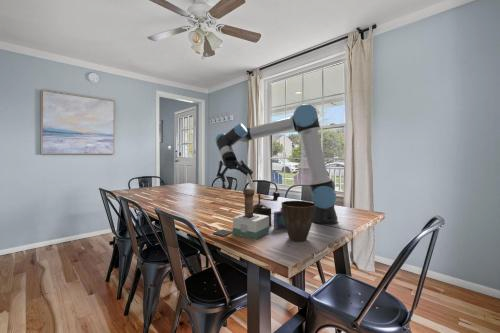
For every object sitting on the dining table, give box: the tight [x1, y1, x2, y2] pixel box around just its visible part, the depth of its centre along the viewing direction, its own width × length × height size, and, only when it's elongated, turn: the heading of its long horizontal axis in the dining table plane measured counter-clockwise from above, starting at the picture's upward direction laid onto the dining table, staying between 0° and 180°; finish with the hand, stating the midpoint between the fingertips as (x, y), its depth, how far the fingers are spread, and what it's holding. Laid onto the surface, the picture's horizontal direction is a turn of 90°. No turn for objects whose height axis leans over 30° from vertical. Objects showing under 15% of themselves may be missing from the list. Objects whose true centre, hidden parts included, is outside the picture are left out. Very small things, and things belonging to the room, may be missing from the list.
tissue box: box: [232, 213, 270, 240], centre depth 118 cm, size 13×12×9 cm
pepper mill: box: [253, 191, 281, 227], centre depth 134 cm, size 16×11×18 cm
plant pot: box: [280, 200, 315, 242], centre depth 110 cm, size 15×15×16 cm
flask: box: [273, 207, 287, 231], centre depth 125 cm, size 9×3×11 cm, turn 109°
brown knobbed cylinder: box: [242, 188, 255, 218], centre depth 116 cm, size 5×5×18 cm
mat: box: [212, 228, 233, 238], centre depth 118 cm, size 7×7×1 cm
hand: (239, 185), depth 124 cm, fingers open, 13 cm apart
